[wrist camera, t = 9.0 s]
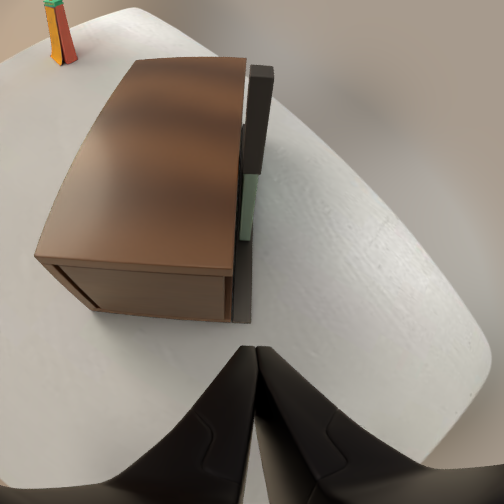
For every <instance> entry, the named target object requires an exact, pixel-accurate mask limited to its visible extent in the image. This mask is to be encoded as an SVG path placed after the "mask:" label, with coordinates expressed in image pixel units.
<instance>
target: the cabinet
mask: <svg viewBox="0 0 504 504" xmlns="http://www.w3.org/2000/svg"><path fill="white" fill-rule="evenodd" d="M245 72H246V58H235V57H175V58H157V59H145V60H136V61H135V62H134V64H133V65H132V66H131V68H130V69H129V70H128V72H127V73H126V75H125V76H124V77H123V79H122V80H121V82H120V83H119V85H118V86H117V88H116V89H115V90H114V92H113V93H112V95H111V97H110V98H109V100H108V101H107V103H106V104H105V106H104V107H103V109H102V111H101V112H100V114H99V116H98V117H97V119H96V121H95V122H94V124H93V126H92V127H91V129H90V131H89V133H88V134H87V136H86V138H85V140H84V142H83V143H82V145H81V147H80V149H79V151H78V153H77V155H76V157H75V159H74V161H73V163H72V165H71V167H70V169H69V171H68V173H67V175H66V177H65V179H64V181H63V183H62V185H61V188H60V190H59V192H58V194H57V197H56V199H55V201H54V204H53V206H52V208H51V211H50V213H49V216H48V218H47V221H46V223H45V226H44V229H43V231H42V234H41V237H40V239H39V242H38V245H37V248H36V251H35V254H34V257H35V258H36V259H37V260H38V261H39V262H40V263H41V264H42V265H43V266H44V267H45V268H46V269H47V270H48V271H49V272H50V273H51V274H52V275H53V276H54V277H55V278H56V279H57V280H58V281H59V282H60V283H61V284H62V285H63V286H64V287H65V288H66V289H67V290H68V291H70V292H71V293H72V294H73V295H74V296H75V297H76V298H77V299H78V300H79V301H81V302H82V303H83V304H84V305H85V306H86V307H88V308H89V309H90V310H93V311H100V312H109V313H117V314H126V315H136V316H146V317H157V318H168V319H181V320H195V321H211V322H231V307H232V284H233V264H234V244H235V225H236V207H237V190H238V174H239V158H240V143H241V128H242V114H243V99H244V85H245ZM244 134H245V124H243V128H242V144H241V160H240V177H239V194H238V212H237V231H236V251H235V272H234V295H233V319H232V323H249V324H250V323H251V296H252V241H253V221H252V229H251V236H250V241H244V240H239V226H240V205H241V185H242V165H243V147H244Z"/></svg>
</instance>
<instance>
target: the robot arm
mask: <svg viewBox="0 0 504 504" xmlns="http://www.w3.org/2000/svg"><path fill="white" fill-rule="evenodd" d="M254 420H255V427H256V433H257V439H258V444H259V450H260V455H261V461H262V466H263V471H264V477H265V482H266V487H267V492H268V498H269V503H270V504H504V464H501V465H494V466H485V467H475V468H462V469H434V468H430V467H426V466H424V465H421V464H419V463H417V462H415V461H413V460H412V459H410V458H408V457H407V456H405V455H403V454H402V453H400V452H398V451H397V450H395V449H394V448H392V447H390V446H389V445H387V444H386V443H384V442H382V441H381V440H379V439H378V438H376V437H375V436H373V435H372V434H370V433H369V432H368V431H366V430H365V429H363V428H362V427H361V426H359V425H358V424H357V423H356V422H354V421H353V420H352V419H351V418H349V417H348V416H347V415H346V414H345V413H343V412H342V411H341V410H340V409H338V408H337V407H336V406H335V405H334V404H333V403H332V402H331V401H329V400H328V399H327V398H326V397H325V396H324V395H323V394H322V393H320V392H319V391H318V390H317V389H316V388H315V387H314V386H313V385H312V384H310V383H309V382H308V381H307V380H306V379H305V378H304V377H303V376H302V375H301V374H299V373H298V372H297V371H296V370H295V369H294V368H293V367H292V366H291V365H290V364H289V363H288V362H286V361H285V360H284V359H283V358H282V357H281V356H280V355H279V354H278V353H277V352H276V351H275V350H274V349H273V348H271V347H270V346H257V347H256V348H255V347H254V346H240V347H239V348H238V350H237V351H236V352H235V353H234V355H233V356H232V357H231V359H230V360H229V361H228V362H227V364H226V365H225V366H224V368H223V369H222V370H221V371H220V373H219V374H218V375H217V377H216V378H215V379H214V380H213V382H212V383H211V384H210V385H209V387H208V388H207V389H206V390H205V392H204V393H203V394H202V395H201V397H200V398H199V399H198V400H197V402H196V403H195V404H194V405H193V406H192V408H191V409H190V410H189V411H188V412H187V414H186V415H185V416H184V417H183V418H182V420H181V421H180V422H179V423H178V424H177V425H176V426H175V427H174V428H173V429H172V431H170V432H169V433H168V434H167V435H166V436H165V437H164V438H163V439H162V440H161V441H160V442H158V443H157V444H156V445H155V446H154V447H153V448H151V449H150V450H149V451H148V452H147V453H145V454H144V455H143V456H142V457H140V458H139V459H138V460H137V461H136V462H134V463H133V464H132V465H131V466H129V467H128V468H127V469H126V470H124V471H123V472H122V473H120V474H119V475H117V476H116V477H114V478H112V479H110V480H107V481H105V482H102V483H98V484H91V485H83V486H73V487H61V488H44V489H17V488H10V487H5V486H1V485H0V504H243V497H244V490H245V483H246V476H247V469H248V462H249V454H250V447H251V439H252V432H253V423H254Z"/></svg>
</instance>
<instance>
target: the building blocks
mask: <svg viewBox="0 0 504 504" xmlns="http://www.w3.org/2000/svg"><path fill="white" fill-rule="evenodd" d="M43 2H45V4H44V6H45V10H46V16H47V22H48V27H49V33H50V39H51V46H52V54H51V57H52V58H53V59H54V60H55V61H56V62H57V63H58V64H59V65H60V66H61V65H62V60H63V61H64V62H66V63H67V64H70V63H72V62H74V61H76V60H78V59H77V56H76V52H75V49H74V45H73V42H72V38H71V34H70V30H69V27H68V23H67V19H66V15H65V10H64V6H63V2H62V0H45V1H43Z"/></svg>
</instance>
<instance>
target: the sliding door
mask: <svg viewBox="0 0 504 504" xmlns="http://www.w3.org/2000/svg"><path fill="white" fill-rule="evenodd" d="M273 83H274V70H273V67H272V66H263V65H250V75H249V84H248V96H247V108H246V121H245V134H244V147H243V165H242V185H241V205H240V226H239V240H244V241H250V236H251V229H252V221H253V213H254V206H255V198H256V191H257V183H258V176H259V175H260V174H261V169H262V162H263V155H264V147H265V140H266V133H267V126H268V119H269V112H270V105H271V98H272V91H273Z"/></svg>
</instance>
